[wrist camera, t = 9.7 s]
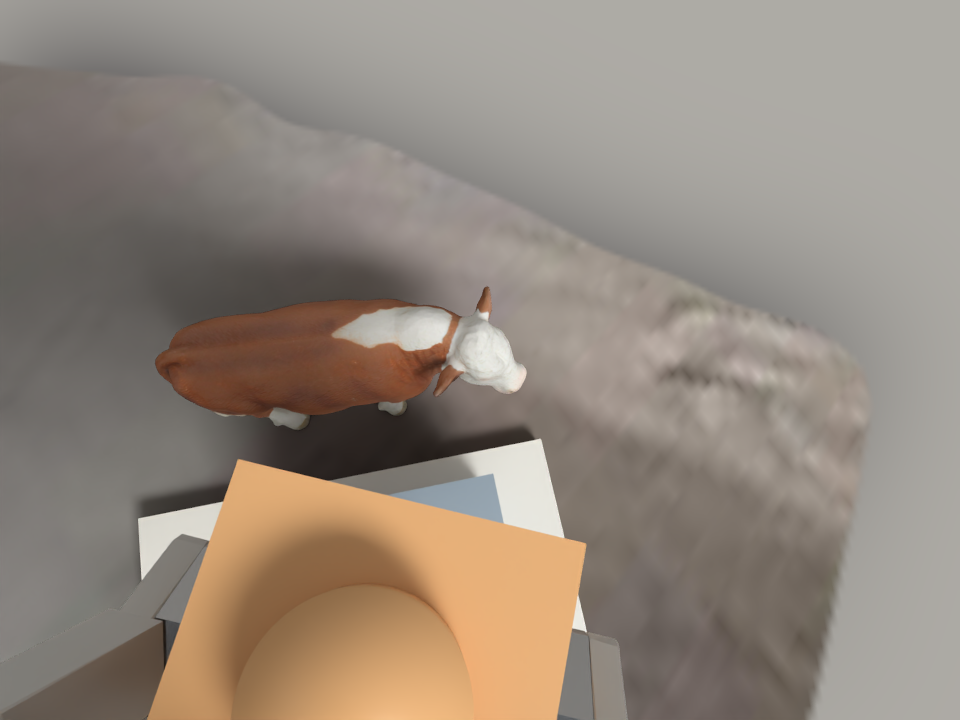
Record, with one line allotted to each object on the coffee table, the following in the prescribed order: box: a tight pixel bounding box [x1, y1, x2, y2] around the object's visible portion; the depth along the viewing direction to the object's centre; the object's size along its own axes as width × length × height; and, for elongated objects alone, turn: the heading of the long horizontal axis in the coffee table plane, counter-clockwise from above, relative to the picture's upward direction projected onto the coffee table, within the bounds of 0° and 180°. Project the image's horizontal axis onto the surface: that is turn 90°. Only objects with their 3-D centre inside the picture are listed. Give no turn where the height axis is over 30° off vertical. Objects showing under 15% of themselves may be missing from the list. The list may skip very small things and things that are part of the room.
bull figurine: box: [155, 286, 527, 430], centre depth 25 cm, size 4×13×8 cm, turn 92°
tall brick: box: [147, 459, 586, 720], centre depth 11 cm, size 4×4×9 cm
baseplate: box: [138, 439, 587, 632], centre depth 25 cm, size 17×18×1 cm
